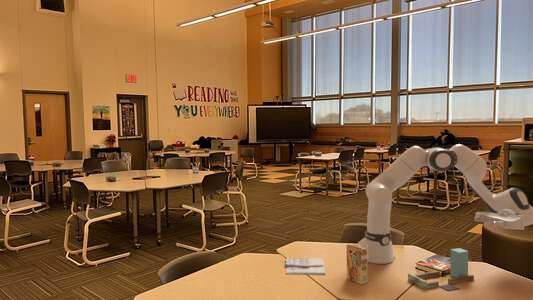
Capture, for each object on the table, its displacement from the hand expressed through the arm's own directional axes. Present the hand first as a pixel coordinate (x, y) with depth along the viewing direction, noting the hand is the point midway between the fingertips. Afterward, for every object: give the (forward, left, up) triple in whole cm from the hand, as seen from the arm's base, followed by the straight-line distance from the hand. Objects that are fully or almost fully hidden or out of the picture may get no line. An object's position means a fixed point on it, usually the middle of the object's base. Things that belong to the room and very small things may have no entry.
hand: (484, 221), depth 184 cm
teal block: (0, -14, -23) cm, 27 cm away
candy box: (-13, -58, -24) cm, 64 cm away
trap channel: (0, -25, -23) cm, 34 cm away
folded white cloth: (-37, -72, -24) cm, 85 cm away
